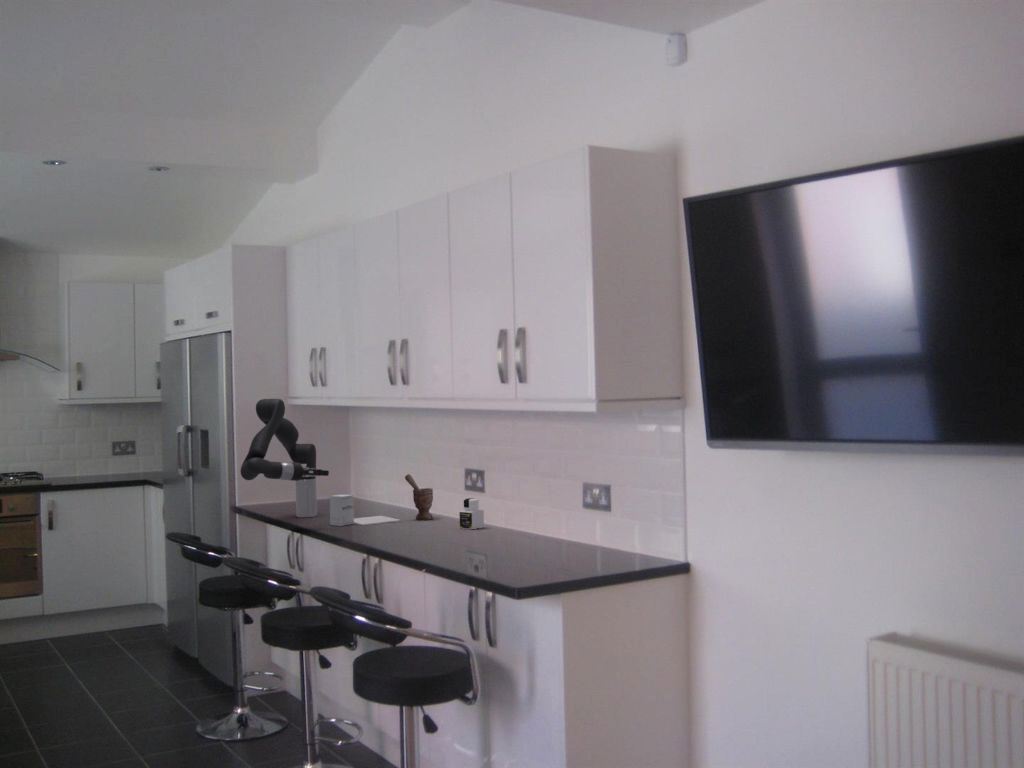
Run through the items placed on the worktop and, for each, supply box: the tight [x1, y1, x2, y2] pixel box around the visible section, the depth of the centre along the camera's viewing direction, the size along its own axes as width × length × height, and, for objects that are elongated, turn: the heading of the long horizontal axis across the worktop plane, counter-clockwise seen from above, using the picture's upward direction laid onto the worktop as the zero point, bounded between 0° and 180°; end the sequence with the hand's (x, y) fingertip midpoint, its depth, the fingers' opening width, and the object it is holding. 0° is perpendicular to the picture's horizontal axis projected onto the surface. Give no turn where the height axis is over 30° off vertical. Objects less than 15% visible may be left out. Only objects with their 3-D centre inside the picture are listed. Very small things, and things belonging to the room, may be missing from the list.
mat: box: [354, 515, 402, 527], centre depth 456 cm, size 20×18×1 cm
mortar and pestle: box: [404, 473, 434, 521], centre depth 457 cm, size 12×9×20 cm
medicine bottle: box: [458, 497, 485, 530], centre depth 426 cm, size 7×7×12 cm
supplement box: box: [329, 494, 355, 527], centre depth 449 cm, size 7×7×13 cm
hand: (323, 473), depth 444 cm, fingers open, 8 cm apart
